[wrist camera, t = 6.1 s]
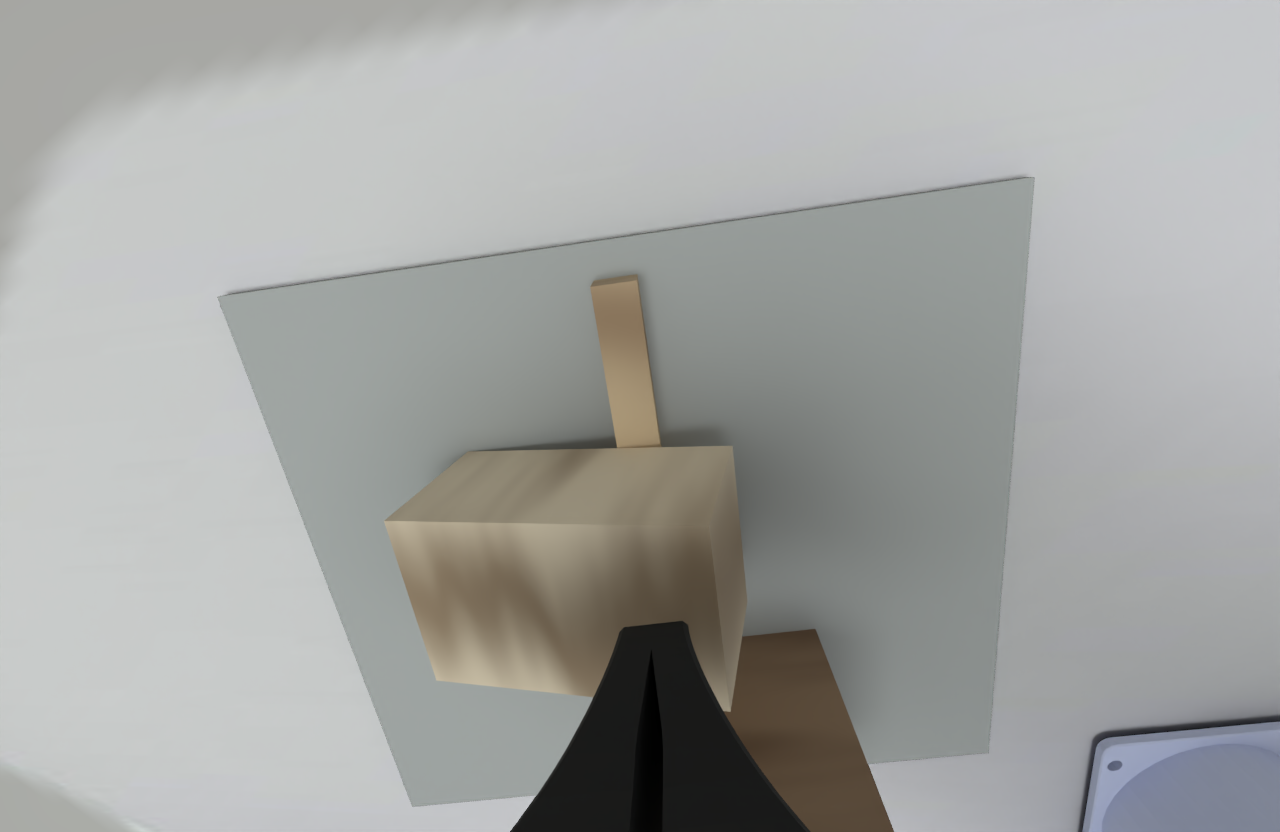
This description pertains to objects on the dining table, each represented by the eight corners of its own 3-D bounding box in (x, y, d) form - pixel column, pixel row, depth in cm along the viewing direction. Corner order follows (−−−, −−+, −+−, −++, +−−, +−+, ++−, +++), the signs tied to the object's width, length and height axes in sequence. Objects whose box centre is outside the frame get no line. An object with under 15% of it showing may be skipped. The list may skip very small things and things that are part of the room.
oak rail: (705, 759, 23) (708, 789, 21) (673, 762, 23) (675, 792, 22) (637, 274, 16) (636, 280, 15) (593, 280, 16) (589, 287, 15)
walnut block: (820, 738, 22) (910, 1018, 15) (712, 749, 22) (745, 1029, 15) (815, 629, 20) (913, 882, 13) (697, 641, 21) (727, 897, 13)
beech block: (730, 711, 14) (430, 679, 16) (747, 601, 18) (498, 588, 20) (708, 526, 12) (376, 521, 15) (732, 445, 16) (462, 451, 18)
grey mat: (983, 743, 23) (988, 752, 22) (416, 797, 24) (412, 806, 24) (1025, 177, 16) (1034, 177, 15) (227, 294, 17) (217, 297, 17)
